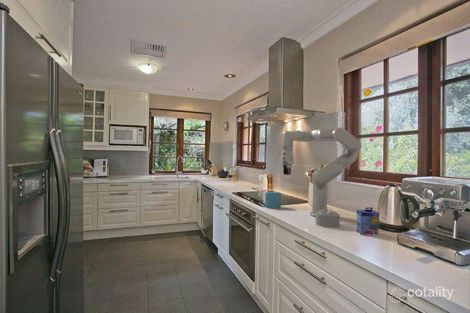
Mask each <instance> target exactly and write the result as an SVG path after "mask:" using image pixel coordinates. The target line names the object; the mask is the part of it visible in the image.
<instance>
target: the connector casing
mask: <svg viewBox="0 0 470 313" xmlns="http://www.w3.org/2000/svg"><path fill="white" fill-rule="evenodd" d="M287 168H288V174H283V175H285V176H290V175H291V174H290V165H288V167H287Z"/></svg>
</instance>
